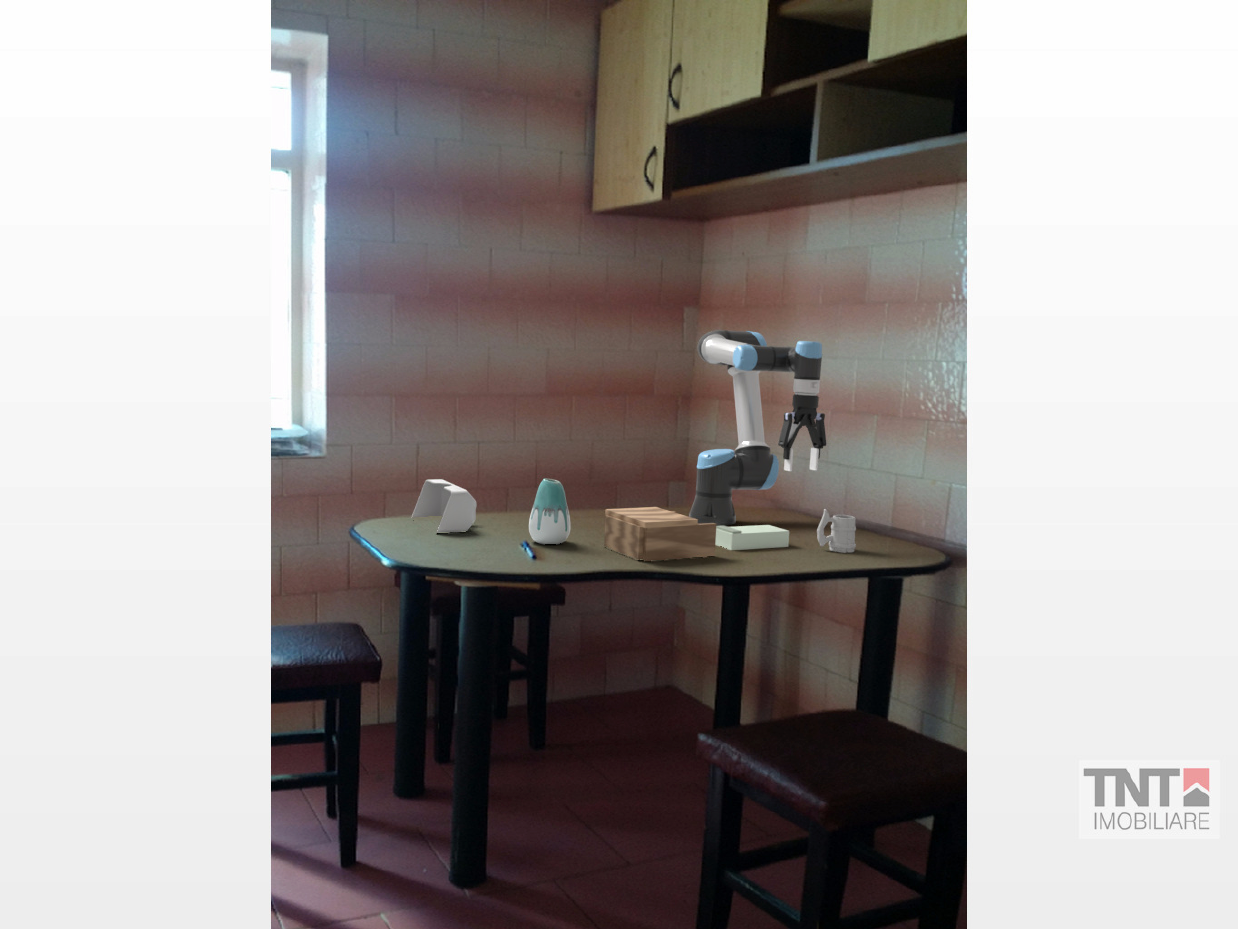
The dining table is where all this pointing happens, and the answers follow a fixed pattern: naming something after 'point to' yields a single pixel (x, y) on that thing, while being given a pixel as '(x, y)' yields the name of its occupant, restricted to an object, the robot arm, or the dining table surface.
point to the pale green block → (751, 537)
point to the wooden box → (657, 534)
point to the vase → (550, 514)
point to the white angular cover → (446, 505)
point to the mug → (838, 532)
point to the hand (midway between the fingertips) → (800, 470)
